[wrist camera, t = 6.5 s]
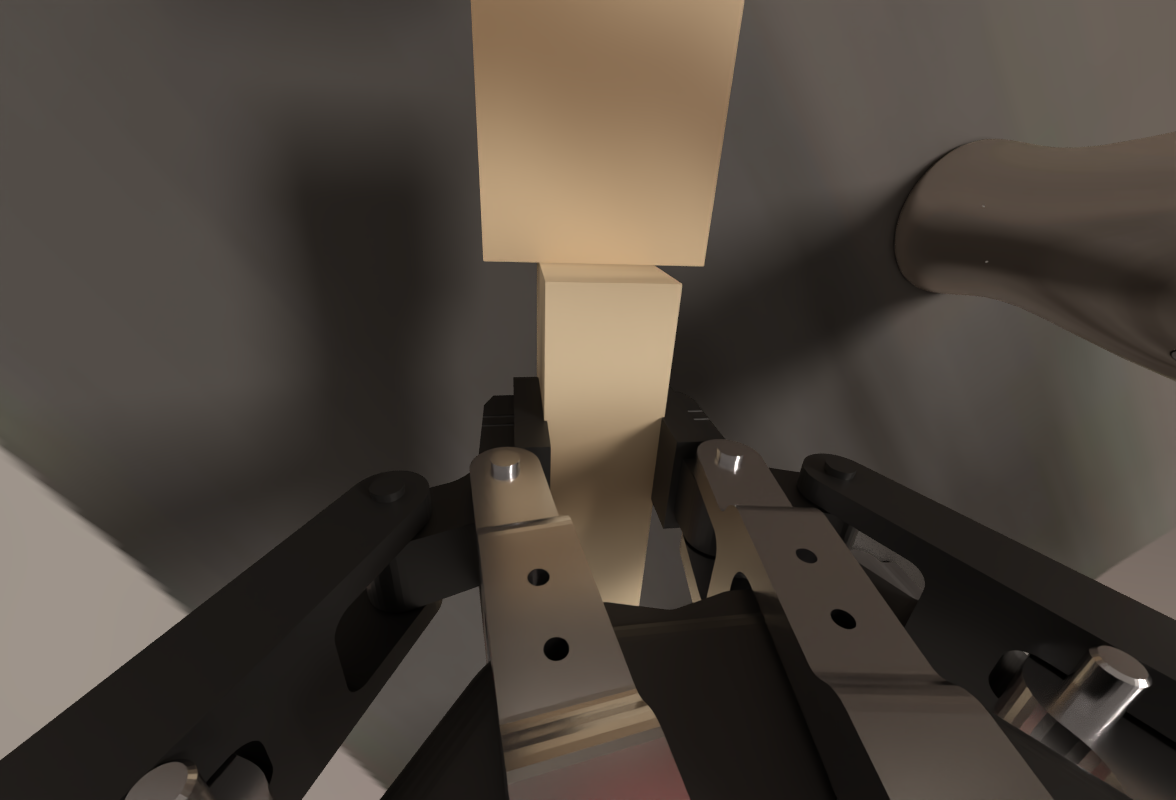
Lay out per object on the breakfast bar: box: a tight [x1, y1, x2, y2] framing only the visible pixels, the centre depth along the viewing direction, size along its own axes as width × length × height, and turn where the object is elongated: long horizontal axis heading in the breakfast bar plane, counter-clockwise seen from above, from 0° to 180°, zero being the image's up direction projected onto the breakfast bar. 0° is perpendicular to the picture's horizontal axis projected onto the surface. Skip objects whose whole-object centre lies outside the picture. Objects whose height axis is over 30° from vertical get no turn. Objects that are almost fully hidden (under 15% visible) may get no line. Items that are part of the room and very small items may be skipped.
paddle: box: [471, 0, 744, 606], centre depth 11 cm, size 16×5×3 cm, turn 177°
